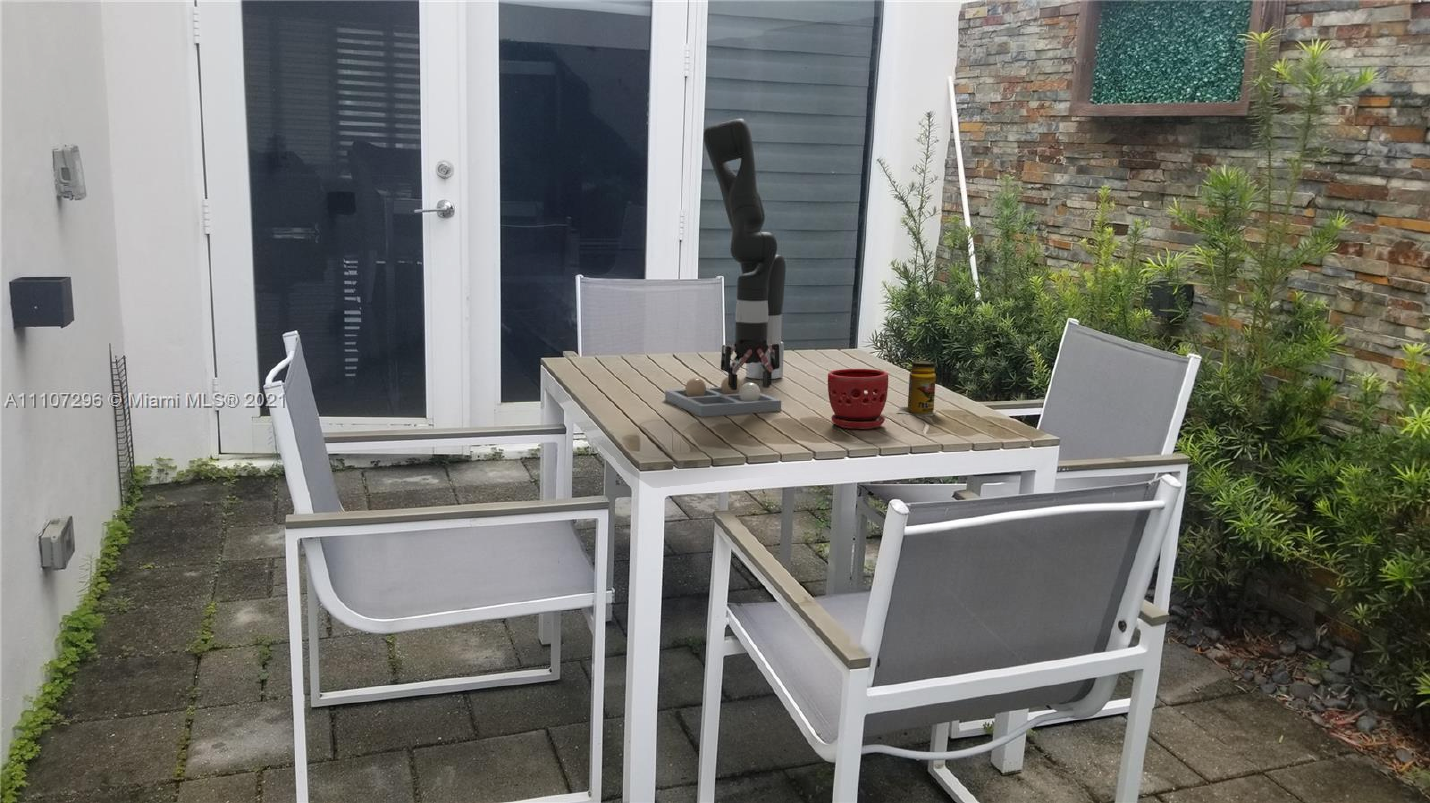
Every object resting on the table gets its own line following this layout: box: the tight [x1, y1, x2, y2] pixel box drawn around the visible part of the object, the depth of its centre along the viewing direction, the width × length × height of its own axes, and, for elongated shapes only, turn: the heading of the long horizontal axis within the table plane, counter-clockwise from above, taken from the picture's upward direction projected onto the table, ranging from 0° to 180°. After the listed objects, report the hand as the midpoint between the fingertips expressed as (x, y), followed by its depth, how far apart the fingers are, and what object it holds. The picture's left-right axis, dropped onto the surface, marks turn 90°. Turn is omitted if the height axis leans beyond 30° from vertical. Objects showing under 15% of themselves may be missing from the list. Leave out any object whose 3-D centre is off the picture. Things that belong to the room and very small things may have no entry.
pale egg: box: [739, 382, 761, 402], centre depth 261 cm, size 5×5×5 cm
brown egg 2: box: [720, 376, 743, 395], centre depth 269 cm, size 5×5×5 cm
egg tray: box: [664, 386, 782, 418], centre depth 263 cm, size 20×20×2 cm
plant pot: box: [827, 368, 889, 430], centre depth 244 cm, size 13×13×12 cm
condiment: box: [896, 359, 937, 417], centre depth 260 cm, size 7×8×12 cm
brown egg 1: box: [684, 377, 707, 397], centre depth 265 cm, size 5×5×5 cm
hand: (749, 388), depth 261 cm, fingers open, 8 cm apart
